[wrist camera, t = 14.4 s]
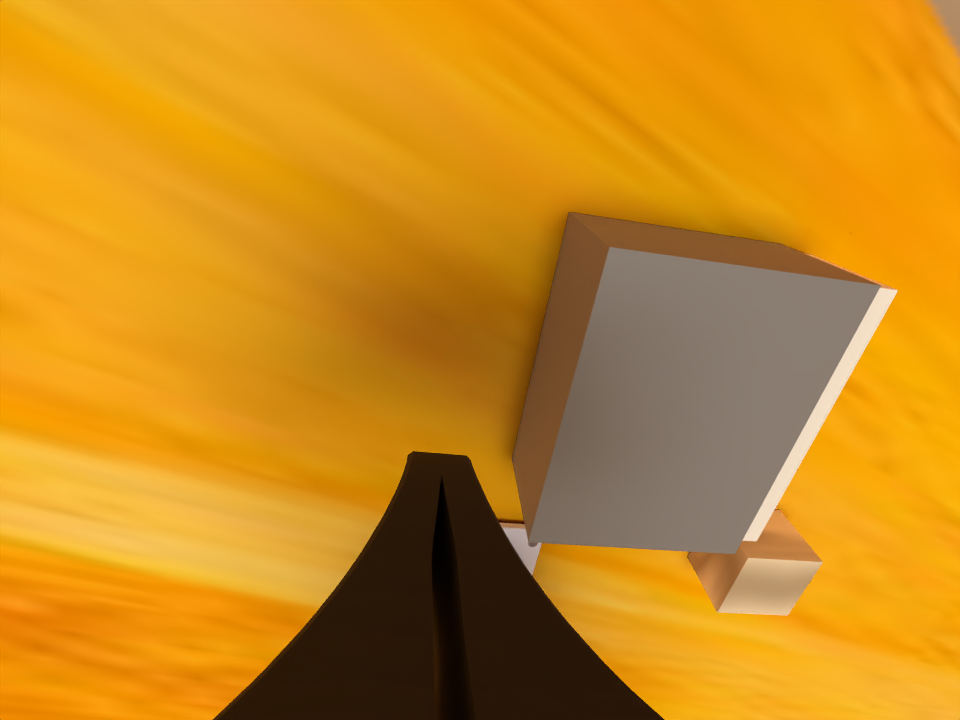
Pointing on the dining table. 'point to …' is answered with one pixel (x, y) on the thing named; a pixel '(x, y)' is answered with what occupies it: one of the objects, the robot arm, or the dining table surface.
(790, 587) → the pedestal
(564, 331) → the block
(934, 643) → the dining table surface
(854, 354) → the tray
